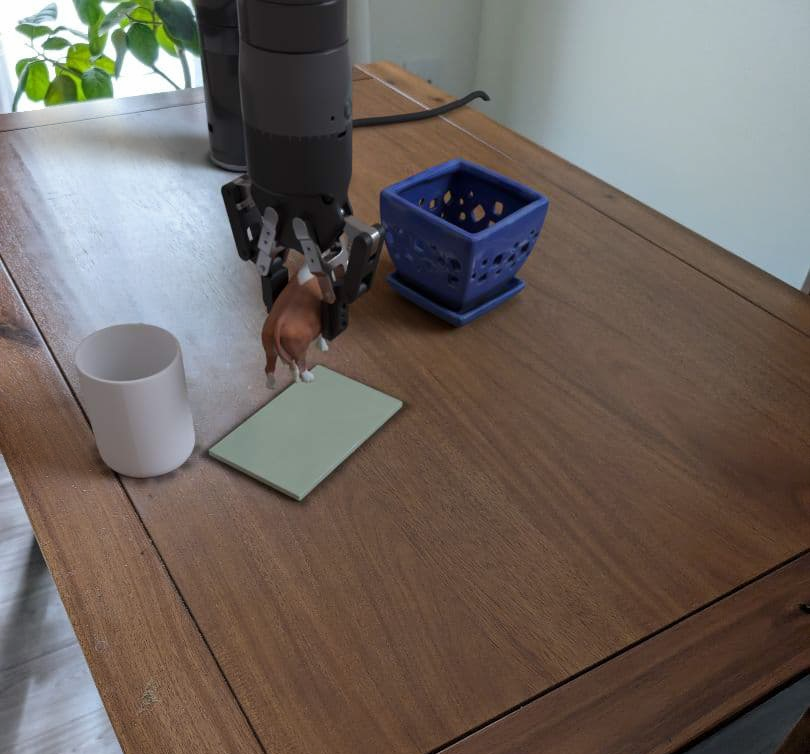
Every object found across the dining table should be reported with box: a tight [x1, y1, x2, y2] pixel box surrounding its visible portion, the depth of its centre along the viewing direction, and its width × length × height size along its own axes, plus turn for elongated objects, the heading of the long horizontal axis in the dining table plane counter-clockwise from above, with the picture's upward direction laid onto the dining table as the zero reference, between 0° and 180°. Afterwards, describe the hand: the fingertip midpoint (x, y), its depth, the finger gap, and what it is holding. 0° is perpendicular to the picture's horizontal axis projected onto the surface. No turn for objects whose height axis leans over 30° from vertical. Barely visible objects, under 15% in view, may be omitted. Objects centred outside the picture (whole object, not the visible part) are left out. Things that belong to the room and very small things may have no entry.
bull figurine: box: [260, 249, 349, 391], centre depth 70 cm, size 4×13×8 cm, turn 160°
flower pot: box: [379, 157, 550, 328], centre depth 91 cm, size 13×13×12 cm
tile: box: [208, 364, 403, 502], centre depth 79 cm, size 16×10×1 cm, turn 147°
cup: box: [73, 322, 196, 479], centre depth 73 cm, size 8×12×10 cm
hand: (305, 322), depth 71 cm, fingers closed on bull figurine, 5 cm apart
